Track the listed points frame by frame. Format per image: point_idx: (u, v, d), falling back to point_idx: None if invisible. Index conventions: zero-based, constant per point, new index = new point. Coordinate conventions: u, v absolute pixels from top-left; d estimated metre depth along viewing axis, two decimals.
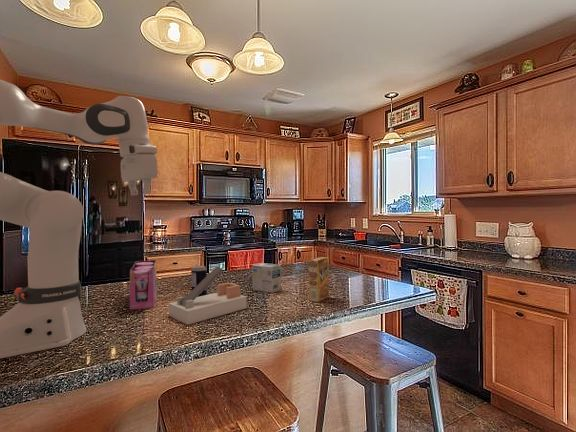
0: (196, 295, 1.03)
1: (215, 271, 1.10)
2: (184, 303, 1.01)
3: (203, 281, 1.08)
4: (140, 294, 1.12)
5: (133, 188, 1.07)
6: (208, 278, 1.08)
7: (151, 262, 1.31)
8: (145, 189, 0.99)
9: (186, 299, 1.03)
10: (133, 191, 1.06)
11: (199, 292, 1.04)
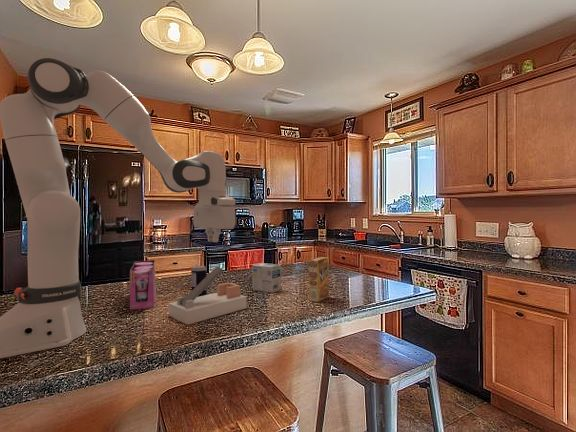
0: (196, 295, 1.03)
1: (215, 271, 1.10)
2: (184, 303, 1.01)
3: (203, 281, 1.08)
4: (140, 294, 1.12)
5: (210, 234, 1.10)
6: (208, 278, 1.08)
7: (150, 262, 1.31)
8: (215, 238, 1.08)
9: (186, 299, 1.03)
10: (210, 238, 1.09)
11: (199, 292, 1.04)
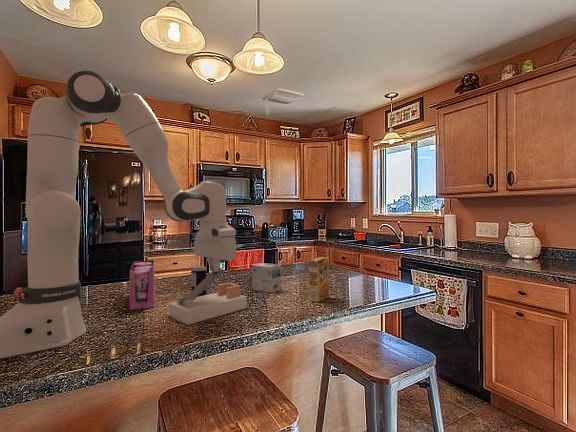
0: (196, 295, 1.03)
1: None
2: (184, 303, 1.01)
3: (203, 281, 1.08)
4: (140, 294, 1.12)
5: (212, 264, 1.10)
6: (208, 279, 1.08)
7: (149, 262, 1.31)
8: (215, 267, 1.08)
9: (186, 299, 1.03)
10: None
11: (199, 292, 1.04)
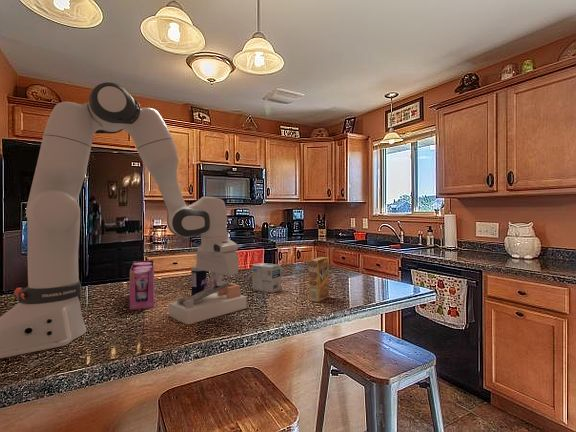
0: (198, 298, 1.04)
1: None
2: (185, 302, 1.01)
3: (208, 289, 1.09)
4: (140, 294, 1.12)
5: (215, 278, 1.11)
6: (213, 287, 1.09)
7: (149, 262, 1.31)
8: (218, 281, 1.09)
9: None
10: None
11: (202, 297, 1.04)
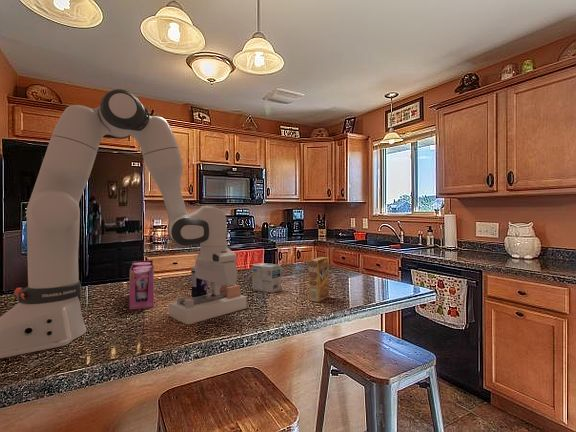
0: (199, 301, 1.04)
1: (223, 292, 1.13)
2: None
3: (209, 295, 1.09)
4: (140, 294, 1.12)
5: (213, 287, 1.10)
6: None
7: (148, 262, 1.31)
8: (216, 291, 1.08)
9: None
10: None
11: (203, 300, 1.05)
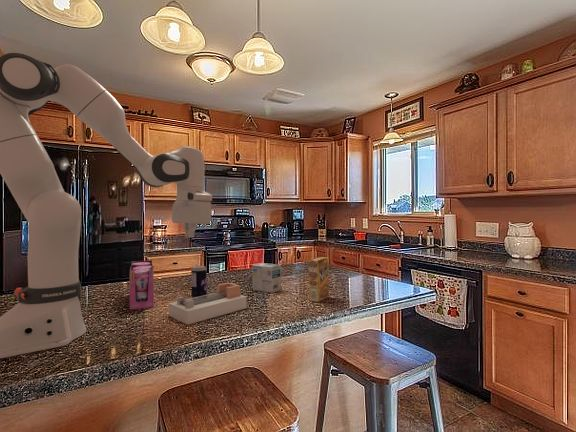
0: (199, 301, 1.04)
1: (223, 292, 1.13)
2: None
3: (209, 295, 1.09)
4: (140, 294, 1.12)
5: (188, 230, 1.10)
6: (215, 295, 1.10)
7: (147, 262, 1.31)
8: (190, 233, 1.08)
9: None
10: None
11: (203, 300, 1.05)
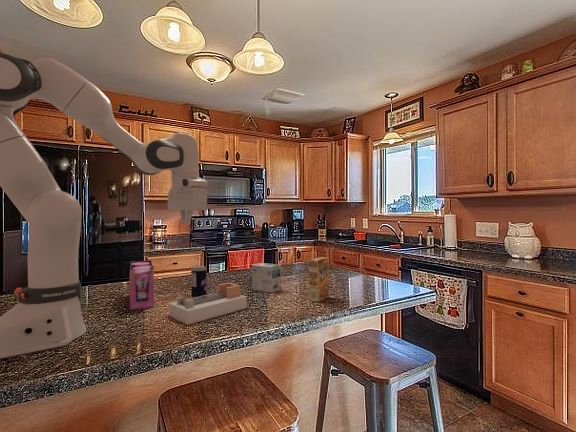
0: (199, 301, 1.04)
1: (223, 292, 1.13)
2: None
3: (209, 295, 1.09)
4: (141, 294, 1.12)
5: (184, 217, 1.10)
6: (215, 295, 1.10)
7: (147, 262, 1.31)
8: (186, 219, 1.08)
9: None
10: None
11: (203, 300, 1.05)
